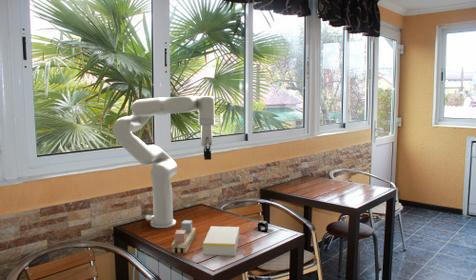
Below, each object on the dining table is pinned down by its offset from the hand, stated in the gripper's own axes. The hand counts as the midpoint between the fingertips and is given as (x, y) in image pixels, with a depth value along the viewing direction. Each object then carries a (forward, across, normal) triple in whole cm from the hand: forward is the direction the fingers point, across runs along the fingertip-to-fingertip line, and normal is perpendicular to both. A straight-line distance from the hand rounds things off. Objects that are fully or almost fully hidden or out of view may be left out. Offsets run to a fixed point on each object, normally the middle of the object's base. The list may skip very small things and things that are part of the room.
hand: (207, 157), depth 191 cm
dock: (+35, +24, +5) cm, 42 cm away
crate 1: (+31, +26, -13) cm, 42 cm away
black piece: (+35, +7, +26) cm, 44 cm away
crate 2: (+31, +13, -10) cm, 35 cm away
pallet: (+35, +19, -12) cm, 42 cm away
